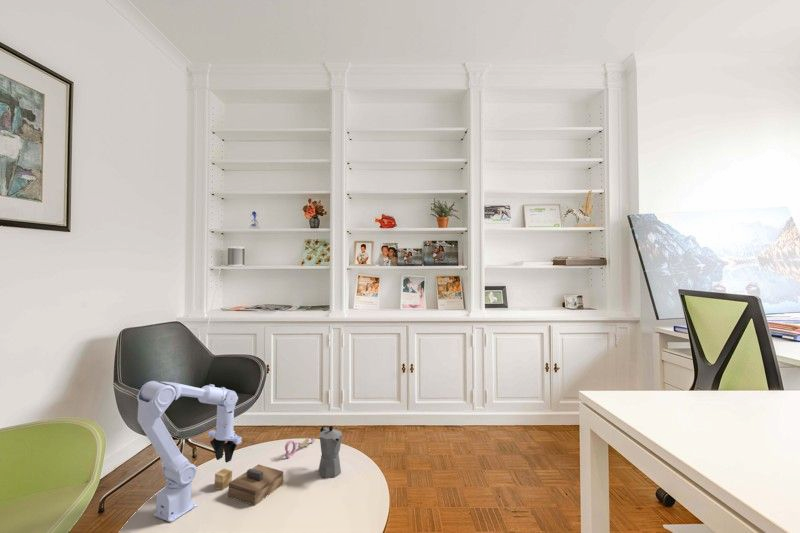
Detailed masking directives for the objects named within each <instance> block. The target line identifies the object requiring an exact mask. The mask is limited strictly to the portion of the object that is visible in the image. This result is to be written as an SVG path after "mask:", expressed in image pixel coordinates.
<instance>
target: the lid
mask: <svg viewBox="0 0 800 533" xmlns="http://www.w3.org/2000/svg"><path fill="white" fill-rule="evenodd" d="M281 475H283V476H284V471H283V470H279V469H276V468H272V467H268V466H266V465H261V464H257V465H255V466H253V467H252V468H248V469H247V470H246V471H245V472H244V473H242V474H241V475H239V476H237V477H236V478H234V479H232V481H231V482H230V483H229V486H231V487H234V488H237V489H240V490H243V491H246V492H249V493H252V494H256V493H258V492H259V491H261V490H262V489H263V488H265V487H266V486H267V485H269V484H270V483H272V482H273V481H274V480H276V479H277V478H279V477H280V476H281ZM229 486H228V487H229Z"/></svg>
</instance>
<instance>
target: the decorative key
mask: <svg viewBox="0 0 800 533" xmlns="http://www.w3.org/2000/svg"><path fill="white" fill-rule="evenodd" d="M315 441H316V438H315V439H314V438H313V437H311V438H309V437H306V438H305V440H303V441H302V442H296V441H294V440H288V441H287V442H286V443H285V446H284V450H285V453H284V454H285V455H284V456H285V457H286V458H287V459H290V458H291V457H290V456H292V455H293V456H294V454H295V453H296V452H297V448H301V447H304V446H306V448H308V447H309V443H310V444H311V445H312V444H313V443H314V442H315ZM290 444H292V450H291V451H290V450H289V446H290ZM289 453H290V454H289ZM293 456H292V457H293ZM289 457H290V458H289Z"/></svg>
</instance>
